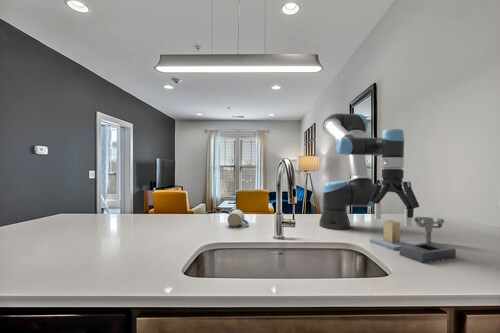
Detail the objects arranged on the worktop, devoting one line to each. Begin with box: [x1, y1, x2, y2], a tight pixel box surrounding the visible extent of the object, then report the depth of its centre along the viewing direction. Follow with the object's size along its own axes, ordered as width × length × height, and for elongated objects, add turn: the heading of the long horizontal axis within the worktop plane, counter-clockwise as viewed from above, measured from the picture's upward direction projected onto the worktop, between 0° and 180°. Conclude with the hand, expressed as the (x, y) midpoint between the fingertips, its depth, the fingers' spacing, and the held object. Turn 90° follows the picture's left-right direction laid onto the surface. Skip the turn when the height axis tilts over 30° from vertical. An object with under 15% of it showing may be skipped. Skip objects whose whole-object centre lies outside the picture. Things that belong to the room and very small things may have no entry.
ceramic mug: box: [226, 208, 250, 228], centre depth 127 cm, size 11×8×8 cm
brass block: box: [382, 219, 401, 244], centre depth 99 cm, size 4×4×8 cm
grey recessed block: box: [399, 241, 457, 264], centre depth 86 cm, size 8×16×3 cm, turn 110°
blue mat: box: [369, 237, 414, 251], centre depth 99 cm, size 11×11×1 cm
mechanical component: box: [413, 216, 445, 243], centre depth 103 cm, size 3×10×10 cm, turn 78°
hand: (391, 222), depth 99 cm, fingers open, 13 cm apart
